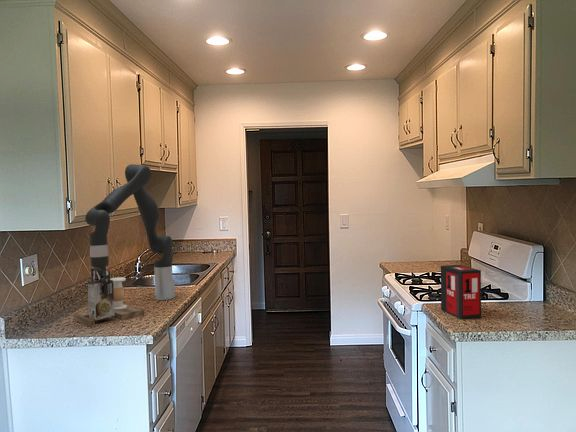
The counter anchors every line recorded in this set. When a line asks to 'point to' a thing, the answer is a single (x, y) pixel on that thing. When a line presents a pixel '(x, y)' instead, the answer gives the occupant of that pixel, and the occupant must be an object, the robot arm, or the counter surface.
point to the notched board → (119, 314)
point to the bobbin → (118, 293)
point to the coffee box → (100, 300)
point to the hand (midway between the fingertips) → (101, 292)
